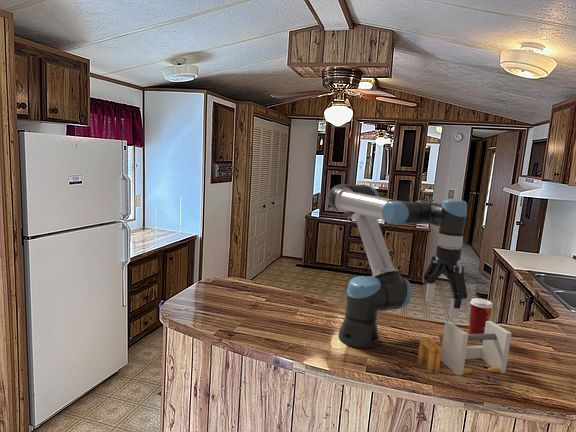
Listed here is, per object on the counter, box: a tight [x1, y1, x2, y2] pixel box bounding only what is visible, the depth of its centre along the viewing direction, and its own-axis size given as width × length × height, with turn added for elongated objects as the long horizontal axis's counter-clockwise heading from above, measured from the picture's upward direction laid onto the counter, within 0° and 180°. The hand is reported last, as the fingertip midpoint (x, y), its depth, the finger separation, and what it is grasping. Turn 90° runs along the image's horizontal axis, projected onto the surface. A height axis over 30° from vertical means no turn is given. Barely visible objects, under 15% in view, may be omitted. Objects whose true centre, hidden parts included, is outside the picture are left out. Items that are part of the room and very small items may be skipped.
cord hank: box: [417, 337, 442, 375], centre depth 131 cm, size 8×4×9 cm, turn 11°
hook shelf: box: [440, 320, 512, 376], centre depth 135 cm, size 18×12×14 cm, turn 102°
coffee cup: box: [468, 297, 494, 334], centre depth 159 cm, size 8×8×15 cm
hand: (440, 309), depth 133 cm, fingers open, 13 cm apart
